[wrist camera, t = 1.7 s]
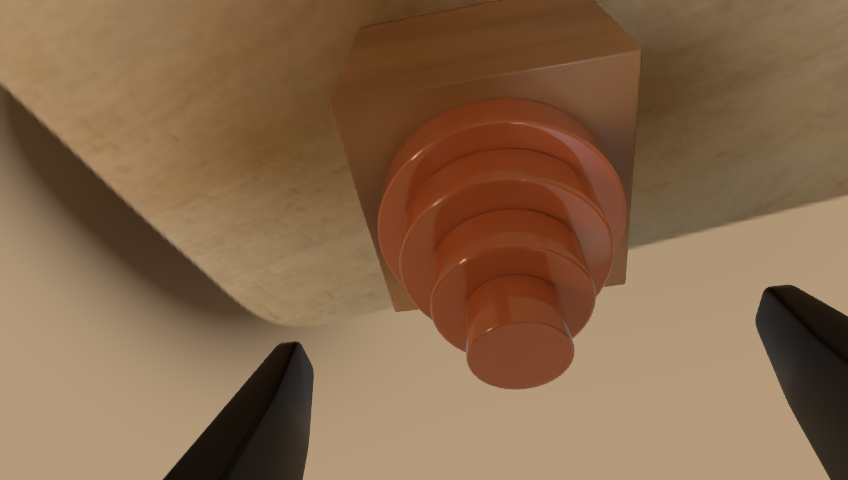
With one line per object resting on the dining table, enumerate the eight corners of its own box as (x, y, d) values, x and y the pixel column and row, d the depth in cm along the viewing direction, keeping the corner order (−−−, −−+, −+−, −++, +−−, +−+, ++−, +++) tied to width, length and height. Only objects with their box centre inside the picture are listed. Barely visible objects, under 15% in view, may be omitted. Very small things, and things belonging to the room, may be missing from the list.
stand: (580, 178, 20) (625, 284, 15) (404, 204, 21) (394, 312, 16) (580, -16, 16) (642, 48, 11) (358, 27, 17) (328, 104, 12)
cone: (609, 274, 15) (671, 431, 11) (407, 299, 16) (398, 454, 12) (618, 75, 11) (715, 203, 7) (354, 120, 12) (316, 258, 8)
